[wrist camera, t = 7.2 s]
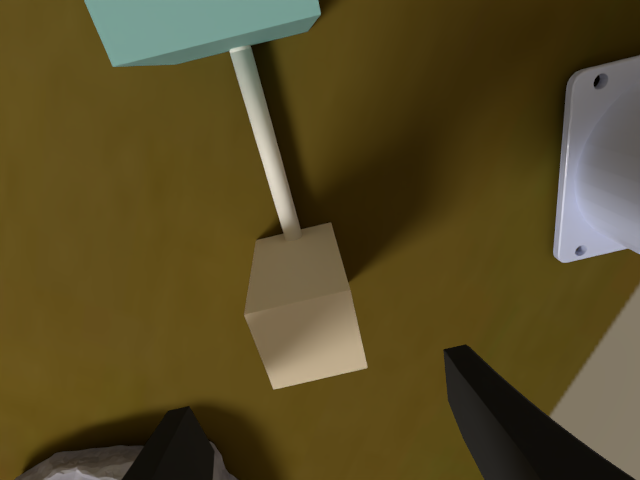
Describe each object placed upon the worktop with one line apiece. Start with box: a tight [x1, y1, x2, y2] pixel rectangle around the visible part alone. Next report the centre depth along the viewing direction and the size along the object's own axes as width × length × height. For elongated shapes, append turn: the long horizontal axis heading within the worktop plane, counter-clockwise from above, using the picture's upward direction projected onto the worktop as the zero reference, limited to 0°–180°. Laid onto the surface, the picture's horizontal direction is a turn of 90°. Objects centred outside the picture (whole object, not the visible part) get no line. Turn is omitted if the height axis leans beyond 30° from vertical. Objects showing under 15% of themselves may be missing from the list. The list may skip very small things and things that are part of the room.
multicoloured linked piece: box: [84, 0, 367, 389], centre depth 11 cm, size 15×4×5 cm, turn 12°
